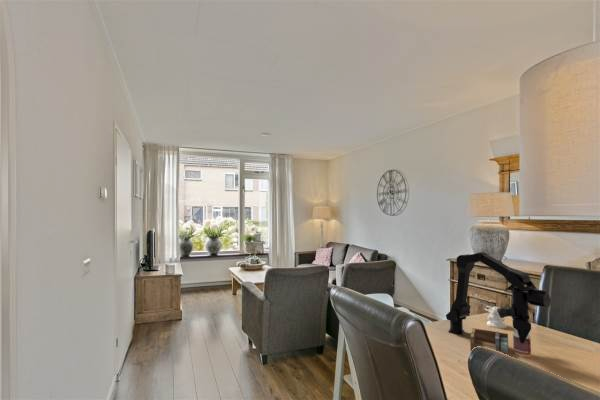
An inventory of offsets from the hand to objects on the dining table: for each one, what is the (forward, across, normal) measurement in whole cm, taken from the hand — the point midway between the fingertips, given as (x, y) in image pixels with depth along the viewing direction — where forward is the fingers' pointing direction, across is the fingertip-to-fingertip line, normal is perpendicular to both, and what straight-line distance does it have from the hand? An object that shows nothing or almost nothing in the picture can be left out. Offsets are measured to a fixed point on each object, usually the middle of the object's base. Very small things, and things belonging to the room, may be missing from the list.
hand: (521, 339), depth 140 cm
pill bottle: (+6, 0, 0) cm, 6 cm away
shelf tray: (+6, 0, -12) cm, 13 cm away
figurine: (+6, -37, -10) cm, 39 cm away
